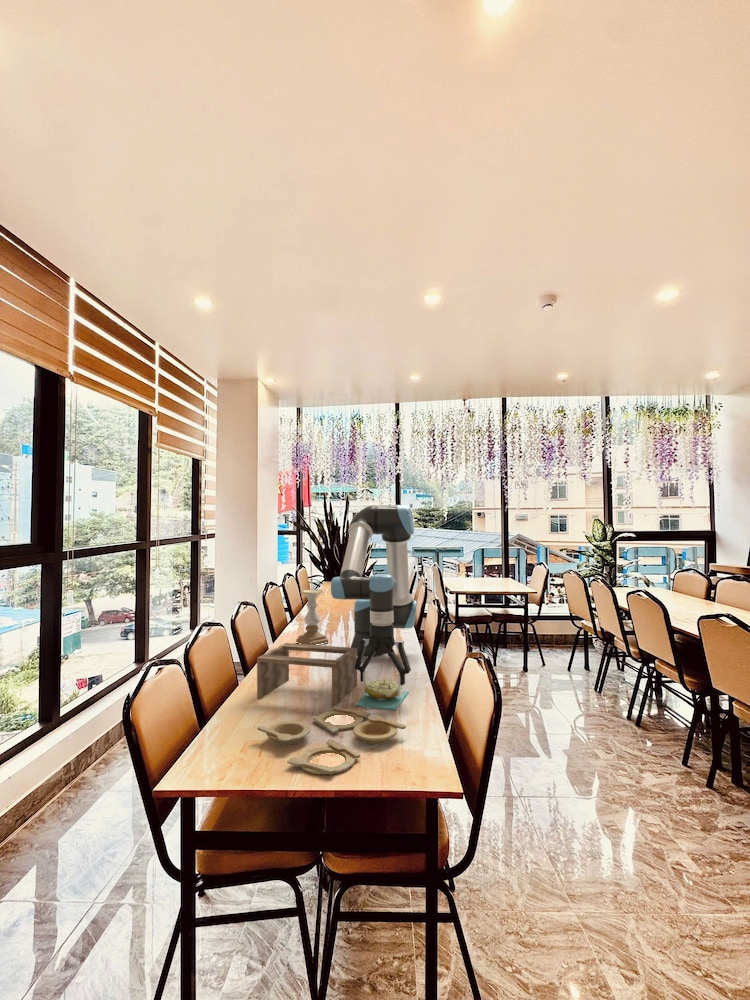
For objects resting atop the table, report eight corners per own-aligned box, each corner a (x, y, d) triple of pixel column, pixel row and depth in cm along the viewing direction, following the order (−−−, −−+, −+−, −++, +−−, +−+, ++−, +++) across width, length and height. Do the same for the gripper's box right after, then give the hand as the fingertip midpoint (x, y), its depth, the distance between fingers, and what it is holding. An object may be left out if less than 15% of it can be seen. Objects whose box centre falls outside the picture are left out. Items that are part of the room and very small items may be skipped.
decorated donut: (393, 702, 159) (393, 689, 159) (361, 698, 162) (360, 686, 162) (403, 691, 168) (403, 679, 169) (372, 687, 172) (372, 676, 172)
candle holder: (295, 643, 240) (295, 591, 241) (314, 639, 248) (314, 588, 248) (309, 647, 232) (309, 593, 233) (329, 643, 240) (328, 590, 240)
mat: (370, 689, 175) (370, 687, 175) (408, 693, 171) (408, 691, 171) (354, 706, 160) (354, 704, 160) (396, 710, 156) (395, 708, 156)
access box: (285, 679, 186) (285, 643, 187) (357, 686, 178) (356, 647, 179) (257, 698, 167) (257, 657, 168) (335, 706, 159) (335, 663, 160)
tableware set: (319, 787, 113) (318, 768, 113) (243, 747, 133) (243, 731, 133) (419, 736, 139) (419, 720, 139) (343, 709, 159) (343, 695, 159)
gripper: (343, 624, 166) (344, 694, 165) (414, 627, 159) (415, 701, 158) (351, 619, 173) (352, 686, 172) (419, 623, 166) (420, 692, 166)
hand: (382, 693), depth 165 cm, fingers closed on decorated donut, 11 cm apart
